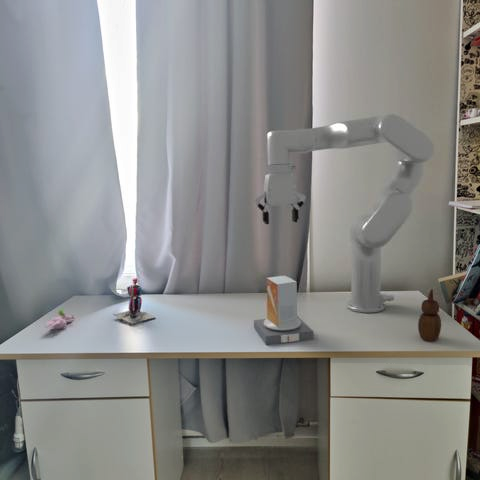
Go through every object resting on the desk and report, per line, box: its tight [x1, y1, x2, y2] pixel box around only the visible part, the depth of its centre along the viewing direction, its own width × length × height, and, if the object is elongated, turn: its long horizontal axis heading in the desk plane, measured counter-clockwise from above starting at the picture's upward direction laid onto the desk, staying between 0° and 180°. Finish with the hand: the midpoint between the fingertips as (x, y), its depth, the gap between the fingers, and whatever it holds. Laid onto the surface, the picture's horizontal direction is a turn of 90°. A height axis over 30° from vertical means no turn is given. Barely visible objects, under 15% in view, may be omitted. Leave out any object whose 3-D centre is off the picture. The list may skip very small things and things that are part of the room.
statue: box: [112, 277, 156, 326], centre depth 162 cm, size 11×9×15 cm
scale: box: [253, 315, 314, 346], centre depth 145 cm, size 14×15×4 cm
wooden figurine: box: [417, 288, 442, 342], centre depth 137 cm, size 7×6×15 cm
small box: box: [266, 275, 298, 328], centre depth 144 cm, size 8×6×13 cm
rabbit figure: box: [44, 308, 75, 330], centre depth 157 cm, size 6×6×15 cm
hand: (280, 222), depth 161 cm, fingers open, 9 cm apart
